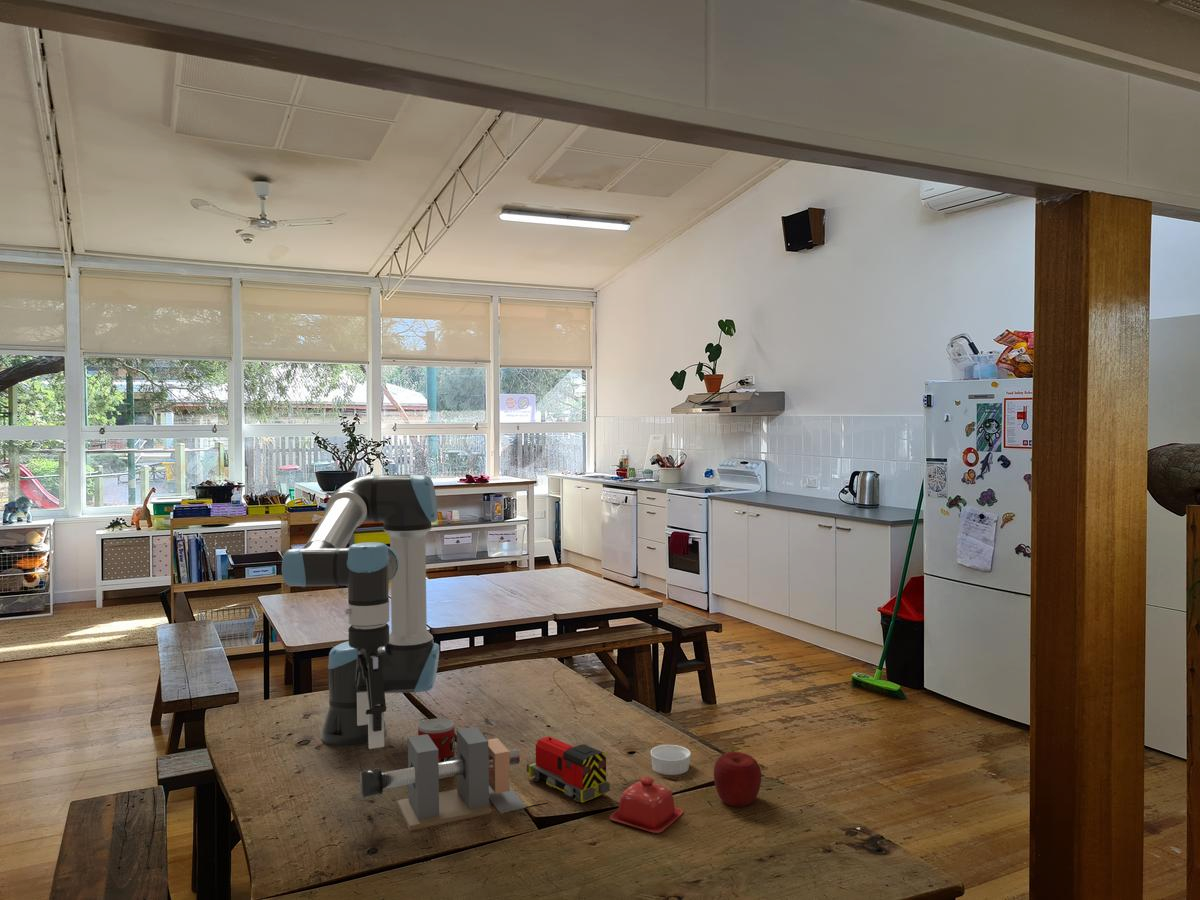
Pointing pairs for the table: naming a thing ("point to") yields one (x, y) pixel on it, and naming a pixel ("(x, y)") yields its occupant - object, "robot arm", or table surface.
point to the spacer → (499, 766)
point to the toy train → (570, 768)
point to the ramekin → (670, 759)
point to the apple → (737, 778)
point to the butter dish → (647, 806)
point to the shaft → (377, 781)
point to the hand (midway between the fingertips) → (370, 735)
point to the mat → (506, 801)
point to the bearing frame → (424, 794)
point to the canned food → (440, 736)
